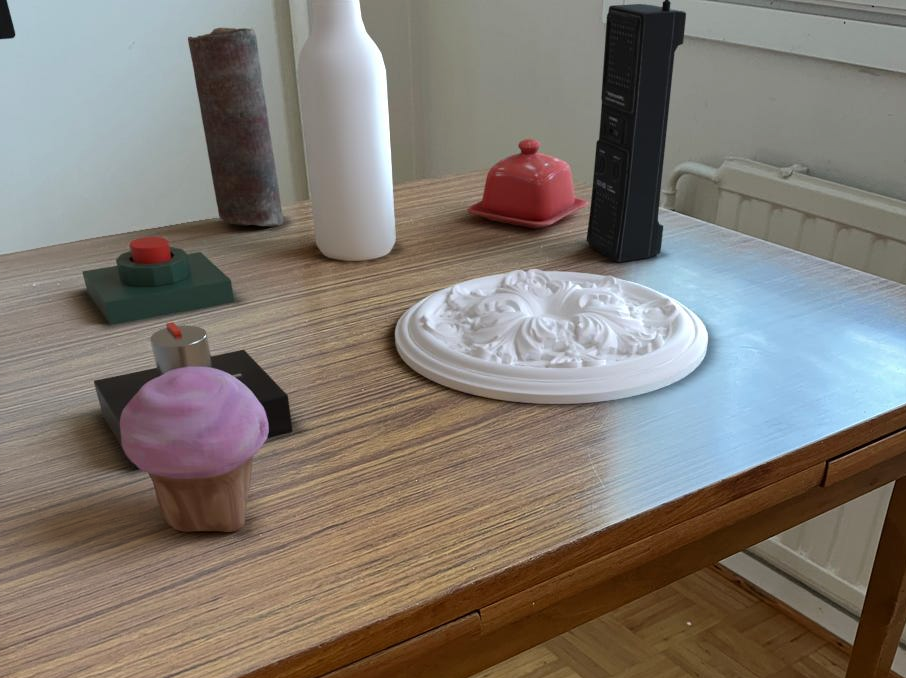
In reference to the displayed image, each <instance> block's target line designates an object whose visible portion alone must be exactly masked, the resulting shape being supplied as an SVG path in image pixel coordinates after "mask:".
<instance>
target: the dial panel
mask: <svg viewBox="0 0 906 678" xmlns="http://www.w3.org/2000/svg"><path fill="white" fill-rule="evenodd" d="M211 359H212V365H213V368H214V369H218V370H221V371H224V372H226V373H228V374H230V375H232V376H234V377H235V378H237V379H238V380H239V381H240V382H242V383H243V384H244V385H245V386H247V387H248V388H249V389H250V390H251V391H252V393H253V394H254V395H255V397H256V398H257V399H258V401H259V402H260V403H261V405H262V406H263V408H264V410H265V412H266V416H267V419H268V426H269V432H268V437H267V439H268V438H272V437H277V436H281V435H284V434H288V433H293V432H294V430H293V424H292V423H293V422H292V416H291V408H290V403H289V402H290V401H289V395H288V394H287V393H286V392H285V391H284V390H283V389H282V388H281V387H280V385H278V383H276V381H275V380H274V379H273V378H272V377H271V376H270V375H269V374H268V373H267V372H266V371H265V370H264V369H263V368H262V367H261V366H260V365H259V364H258V363H257V361H255V359H254V358H253V357H252V356H251V355H250V354H249V353H248V352H247V351H246V350H245V349H240V350H235V351H231V352H225V353H221V354H216V355H211ZM157 377H159V376H158V372H157V367H154V368H148V369H144V370H139V371H134V372H129V373H123V374H120V375H115V376H110V377H109V376H108V377H105V378H99V379H95V380H93V384H94V388H95V392H96V395H97V400H98V403H99V406H100V410H101V411H100V412H101V414H102V417H103V418H104V420H105V422H106V424H107V426H108V427H109V429H110V430H111V431H110V432H112V434H113V436H114V437H115V439H116V441H117V442H118V444H119V446H120V447H121V449H122V451H123V453H124V454H125V452H124V449H123V447H122V443H121V432H120V418H121V414H122V411H123V409H124V408H125V407H126V405H127V404H128V403H129V402H130V401H131V399H132V398H133V397H134V396H135V395H136V394H137V393H138V392H139V390H140V389H141V387H142V386H143V385H144V384H146V383H147V382H149V381H151V380H152V379H155V378H157ZM125 456H126V458H127V460H128V461H129V463H130V465H131V466H132V468H133V470H134V471H137V470H140V469H139V468H138V467H137V466H136V465H135V464H134V463H133V462H132V461H131V460H130V459H129V458H128V457H127V455H126V454H125Z"/></svg>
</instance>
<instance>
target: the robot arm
mask: <svg viewBox="0 0 906 678" xmlns="http://www.w3.org/2000/svg"><path fill="white" fill-rule="evenodd" d="M14 38H16V29H15V27H14V23H13V18H12V15H11V11H10V7H9V3H8V0H0V40H10V39H11V40H12V39H14Z"/></svg>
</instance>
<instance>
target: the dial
mask: <svg viewBox="0 0 906 678" xmlns="http://www.w3.org/2000/svg"><path fill="white" fill-rule="evenodd" d="M165 326H166V327H165V328H162V329H159V330H157V331H155V332H153V333H152V334H151V336H150V339H149V340H150V344H151V349H152V353H153V358H154V362H155V368H157V372H158V376H161V375H163V374H165V373H166V372H169V371H171V370H174V369H179V368H184V367H210V368H213V365H212V359H211V356H212V355H211V349H210V344H209V339H208V334H207V331H206V330H205V329H204V328H202V327H200V326H195V325H185V324H184V325H177V324H176V323H175V322H174V321H172V322H167V323H165Z"/></svg>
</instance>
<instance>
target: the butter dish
mask: <svg viewBox="0 0 906 678" xmlns="http://www.w3.org/2000/svg"><path fill="white" fill-rule="evenodd" d="M540 146H541V143H540V142H539V140H537V139H533V138H525V139H523V140H521V141H519V143H518V146H517V147H518V148H519V149H520V153H516V154H512V155H509V156H507V157H505V158H502V159H500V160H499V161H498V162H496V163H495V164H494V165H493V166H492V167H491V168H490V169H489V171H488V173H487V175H486V179H485V184H484V189H483V195H482V198H481V200H480V201H478V202H476V203H474V204H472V205H471V206H469V207H468V208H467V209H466V212H467V213H469V214H471V215H474V216H478V217H483V218H486V219H487V220H489V221H495V222H498V223H499V222H500V223H504V224H509V225H514V226H521V227H526V228H530V229H531V228H532V229H541V228H545V227H548V226H551V225H553V224H555V223H557V222H558V221H560V220H562V219H564V218H566V217H568V216H570V215H571V214H573V213H575V212H577V211H579V210H581V209H583V208H586V206H588V205H589V202H588V201H587V200H586V199H582V198H578V197H575V189H574V182H573V176H572V171H571V167H570V165H569V164H568V163H567V162H566V161H564V160H563V159H560V158H558V157H556V156H553V155H549V154H545V153H541V152H538V151H539V149H540Z"/></svg>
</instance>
